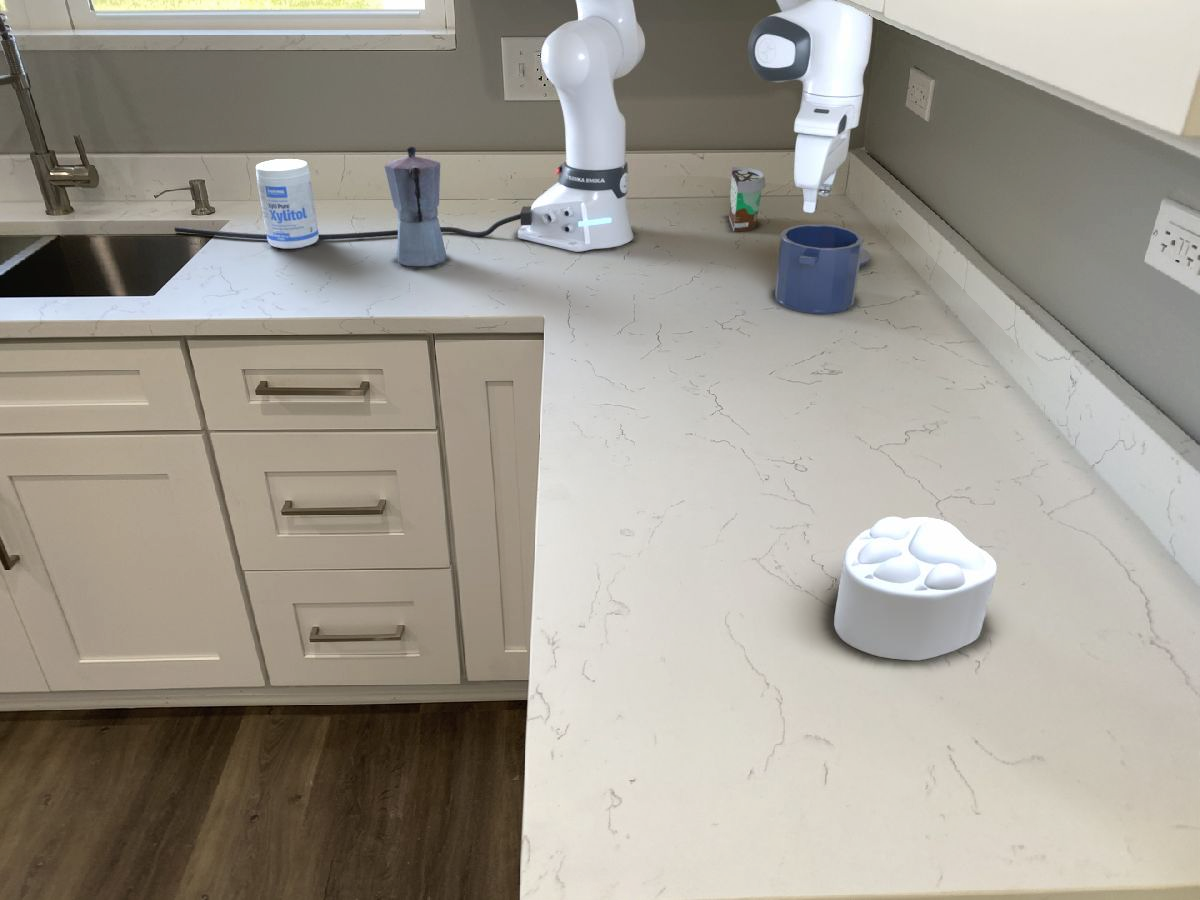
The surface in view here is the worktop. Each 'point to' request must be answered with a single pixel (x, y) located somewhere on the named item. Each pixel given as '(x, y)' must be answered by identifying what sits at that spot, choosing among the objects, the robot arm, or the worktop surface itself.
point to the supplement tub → (287, 203)
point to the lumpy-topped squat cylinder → (913, 589)
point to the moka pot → (416, 209)
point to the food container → (745, 197)
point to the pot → (818, 268)
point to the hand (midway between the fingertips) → (817, 203)
